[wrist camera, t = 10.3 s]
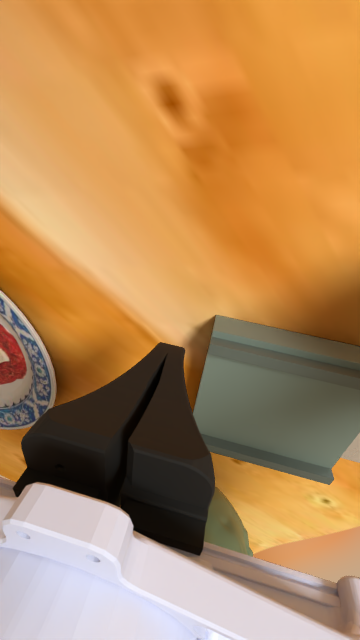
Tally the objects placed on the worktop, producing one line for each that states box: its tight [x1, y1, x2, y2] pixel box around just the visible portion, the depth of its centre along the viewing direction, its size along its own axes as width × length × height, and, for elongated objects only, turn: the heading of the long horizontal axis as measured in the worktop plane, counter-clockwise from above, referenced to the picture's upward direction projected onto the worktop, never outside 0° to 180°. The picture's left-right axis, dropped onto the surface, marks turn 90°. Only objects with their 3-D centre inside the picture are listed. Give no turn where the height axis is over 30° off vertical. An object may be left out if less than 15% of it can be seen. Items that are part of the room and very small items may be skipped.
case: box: [193, 315, 360, 485], centre depth 24 cm, size 14×14×4 cm
